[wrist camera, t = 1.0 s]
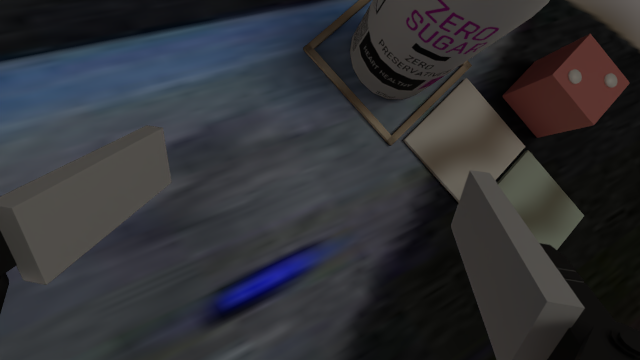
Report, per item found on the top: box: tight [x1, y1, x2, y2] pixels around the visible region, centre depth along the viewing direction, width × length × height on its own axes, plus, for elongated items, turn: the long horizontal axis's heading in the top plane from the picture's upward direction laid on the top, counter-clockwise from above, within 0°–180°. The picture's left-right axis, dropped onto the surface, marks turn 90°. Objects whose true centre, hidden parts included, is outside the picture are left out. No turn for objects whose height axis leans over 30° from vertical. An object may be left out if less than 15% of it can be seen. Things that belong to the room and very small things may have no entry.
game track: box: [303, 0, 584, 250], centre depth 30 cm, size 31×12×1 cm, turn 44°
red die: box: [502, 34, 629, 138], centre depth 30 cm, size 6×6×6 cm
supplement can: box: [350, 0, 550, 100], centre depth 22 cm, size 8×8×15 cm
